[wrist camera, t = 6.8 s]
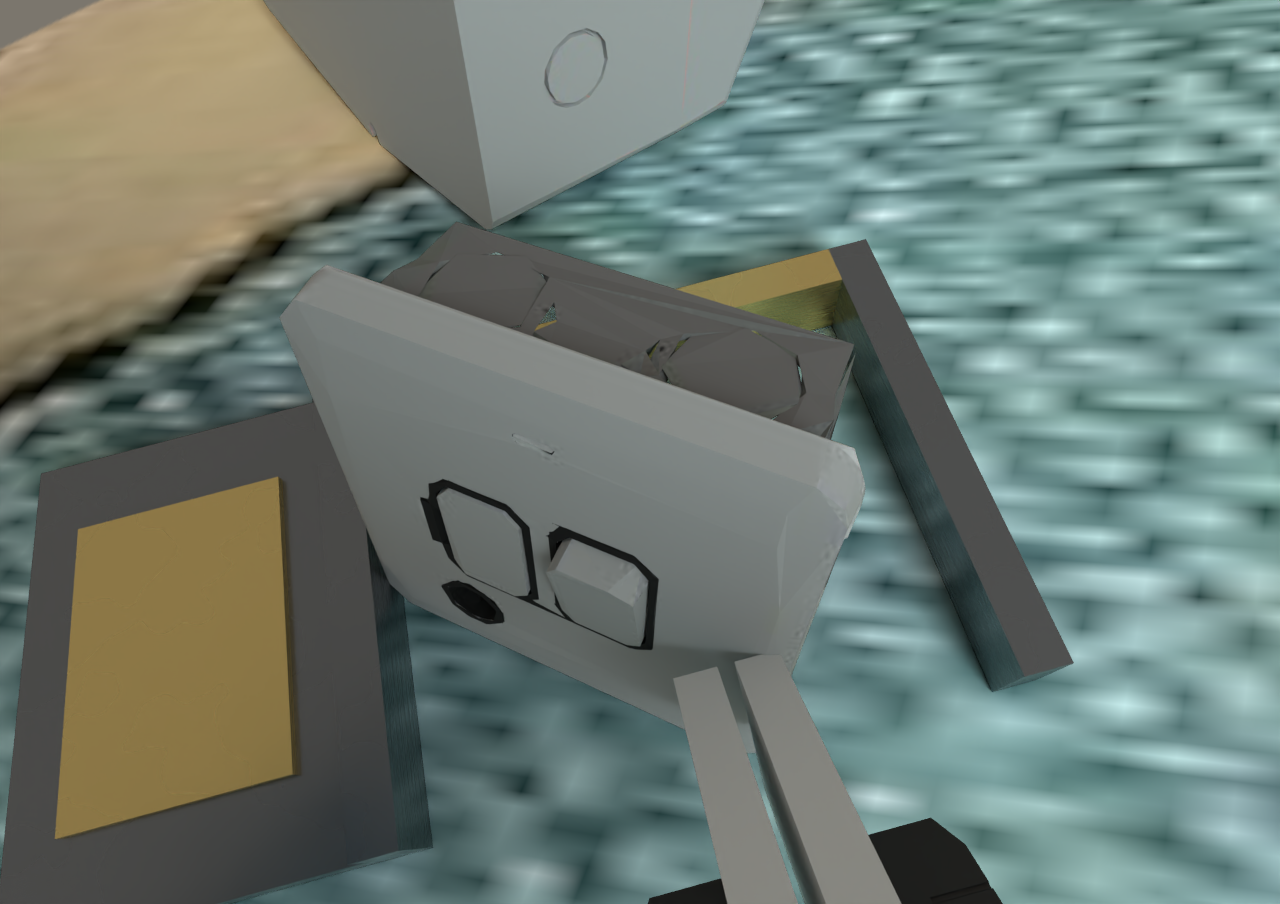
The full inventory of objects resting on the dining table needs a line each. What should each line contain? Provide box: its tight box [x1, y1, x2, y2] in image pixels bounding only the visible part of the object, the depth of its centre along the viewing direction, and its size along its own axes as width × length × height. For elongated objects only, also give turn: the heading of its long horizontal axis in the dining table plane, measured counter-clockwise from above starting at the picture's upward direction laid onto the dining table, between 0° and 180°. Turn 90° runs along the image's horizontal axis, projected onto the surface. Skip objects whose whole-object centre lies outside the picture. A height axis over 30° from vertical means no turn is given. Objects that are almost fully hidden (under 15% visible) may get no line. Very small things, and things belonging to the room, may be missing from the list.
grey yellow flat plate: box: [0, 239, 1073, 904], centre depth 18 cm, size 22×11×2 cm, turn 104°
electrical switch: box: [279, 222, 865, 753], centre depth 15 cm, size 9×5×9 cm, turn 66°
